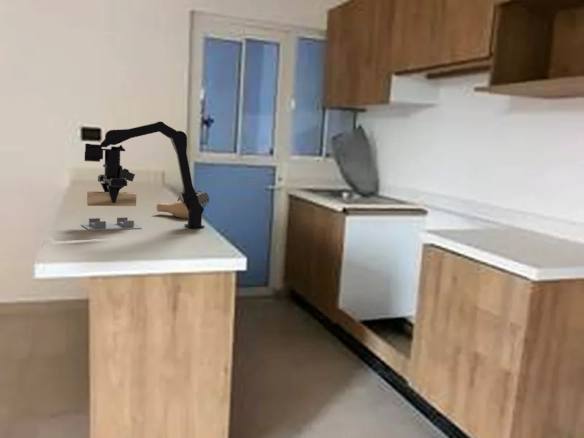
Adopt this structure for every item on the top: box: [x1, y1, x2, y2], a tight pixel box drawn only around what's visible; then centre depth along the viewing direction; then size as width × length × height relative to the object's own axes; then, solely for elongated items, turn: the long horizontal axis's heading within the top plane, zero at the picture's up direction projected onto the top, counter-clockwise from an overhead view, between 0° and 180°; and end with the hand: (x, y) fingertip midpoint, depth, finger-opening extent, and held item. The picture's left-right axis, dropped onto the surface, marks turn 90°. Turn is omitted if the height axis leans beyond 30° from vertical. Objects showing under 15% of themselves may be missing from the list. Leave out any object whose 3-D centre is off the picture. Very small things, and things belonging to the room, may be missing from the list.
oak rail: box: [86, 191, 137, 207], centre depth 215 cm, size 4×18×5 cm, turn 114°
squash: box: [156, 201, 188, 219], centre depth 250 cm, size 11×20×9 cm, turn 75°
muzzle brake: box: [176, 190, 210, 208], centre depth 268 cm, size 10×28×10 cm, turn 174°
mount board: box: [80, 216, 143, 232], centre depth 216 cm, size 13×20×3 cm, turn 125°
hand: (111, 202), depth 215 cm, fingers closed on oak rail, 5 cm apart
